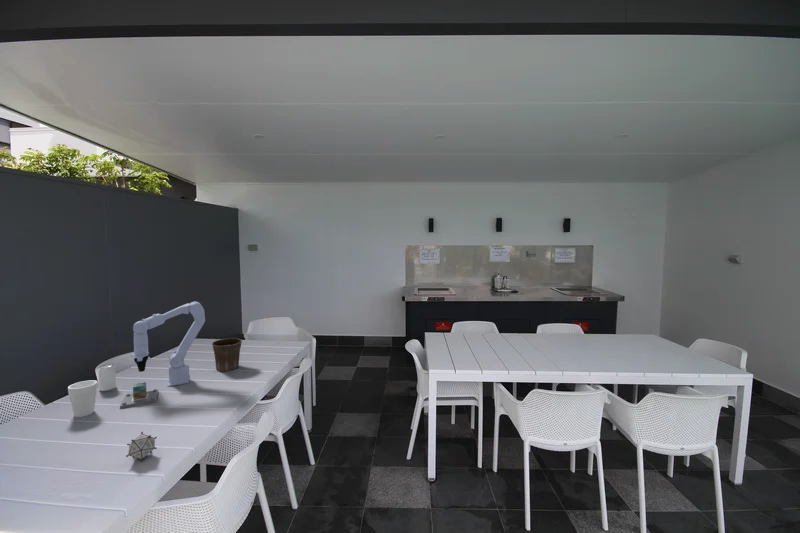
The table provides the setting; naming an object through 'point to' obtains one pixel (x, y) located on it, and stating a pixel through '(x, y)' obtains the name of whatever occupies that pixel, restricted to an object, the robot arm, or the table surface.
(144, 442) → the game die
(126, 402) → the plate
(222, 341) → the plant pot
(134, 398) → the teal and brown block
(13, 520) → the table surface
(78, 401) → the foam cup
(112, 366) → the grey cylinder
